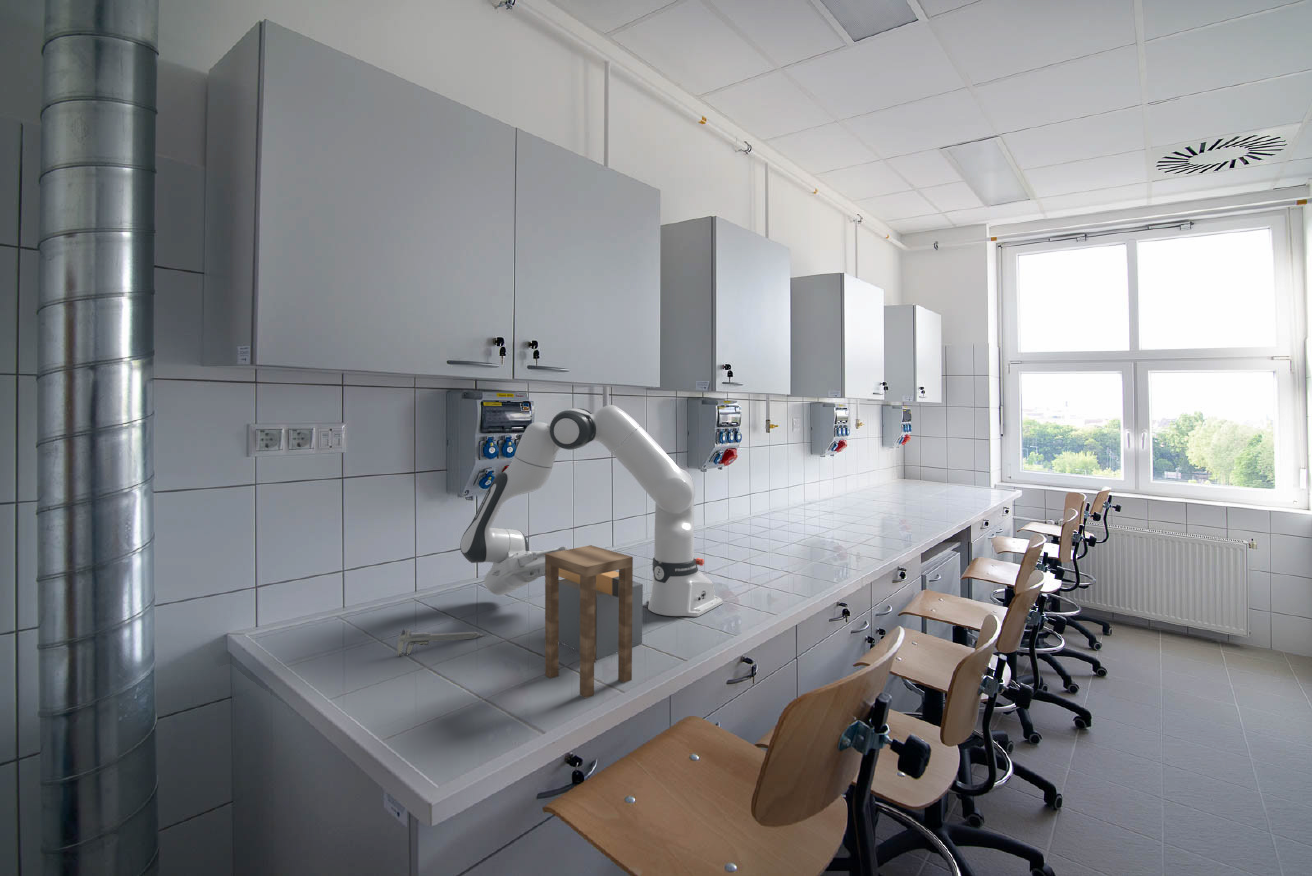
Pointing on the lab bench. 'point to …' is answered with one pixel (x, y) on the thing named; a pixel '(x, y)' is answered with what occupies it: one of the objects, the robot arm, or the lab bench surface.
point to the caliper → (428, 639)
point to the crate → (597, 618)
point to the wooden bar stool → (588, 609)
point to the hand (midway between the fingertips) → (549, 552)
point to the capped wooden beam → (597, 581)
